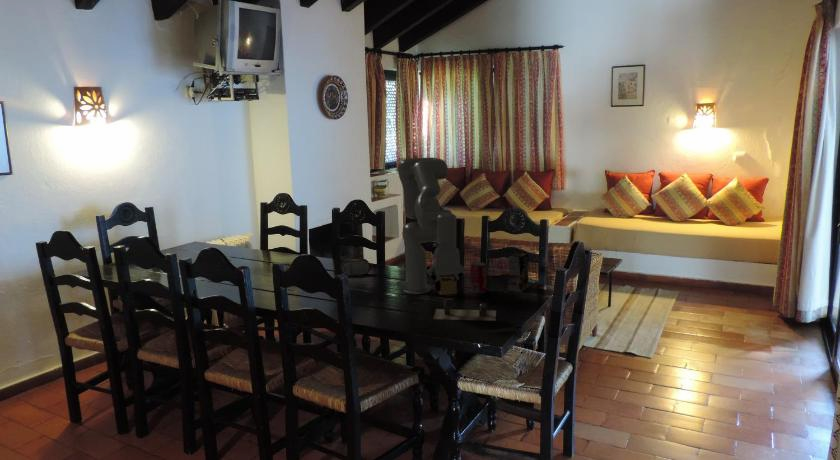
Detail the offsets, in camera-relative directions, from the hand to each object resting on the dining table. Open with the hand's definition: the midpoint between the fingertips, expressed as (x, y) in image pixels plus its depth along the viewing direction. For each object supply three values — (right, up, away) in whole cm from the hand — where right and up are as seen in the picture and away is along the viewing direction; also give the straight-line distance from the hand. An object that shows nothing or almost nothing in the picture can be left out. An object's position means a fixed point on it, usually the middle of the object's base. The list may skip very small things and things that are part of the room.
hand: (446, 289), depth 236 cm
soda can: (+16, -5, +34) cm, 38 cm away
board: (+7, -11, +1) cm, 13 cm away
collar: (0, -1, 0) cm, 1 cm away
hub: (+14, -10, 0) cm, 17 cm away
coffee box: (+34, -4, +38) cm, 51 cm away
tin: (-43, 0, +66) cm, 78 cm away
